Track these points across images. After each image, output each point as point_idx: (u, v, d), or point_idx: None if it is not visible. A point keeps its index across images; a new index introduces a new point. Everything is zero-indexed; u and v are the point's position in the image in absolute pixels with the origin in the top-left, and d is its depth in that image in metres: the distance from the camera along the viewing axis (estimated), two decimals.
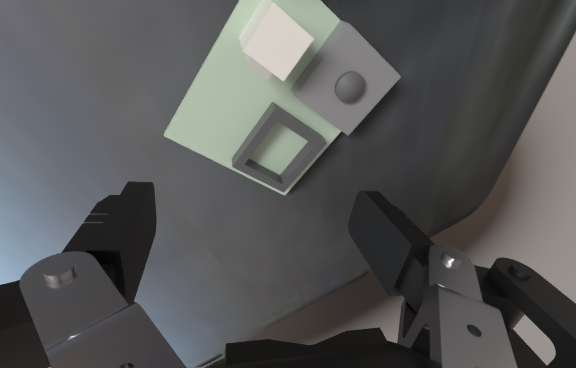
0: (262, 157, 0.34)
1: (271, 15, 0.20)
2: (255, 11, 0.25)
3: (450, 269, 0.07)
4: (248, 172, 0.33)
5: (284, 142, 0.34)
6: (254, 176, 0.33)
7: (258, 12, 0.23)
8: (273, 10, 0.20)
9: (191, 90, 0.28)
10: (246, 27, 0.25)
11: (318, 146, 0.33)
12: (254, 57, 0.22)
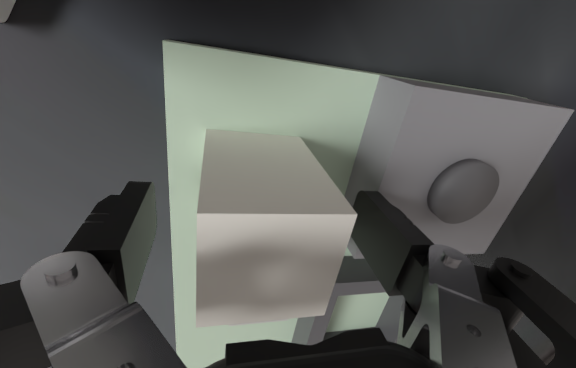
0: (336, 322, 0.20)
1: (213, 239, 0.07)
2: None
3: (450, 269, 0.07)
4: None
5: None
6: None
7: None
8: (211, 227, 0.06)
9: (178, 310, 0.16)
10: None
11: None
12: (230, 321, 0.08)
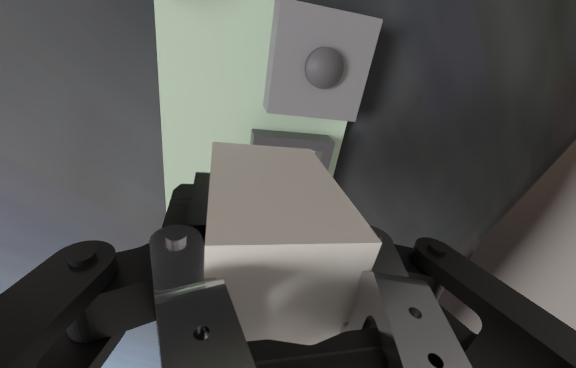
0: None
1: (222, 273, 0.06)
2: None
3: None
4: None
5: None
6: None
7: None
8: (221, 259, 0.06)
9: (165, 160, 0.25)
10: None
11: (327, 150, 0.26)
12: None
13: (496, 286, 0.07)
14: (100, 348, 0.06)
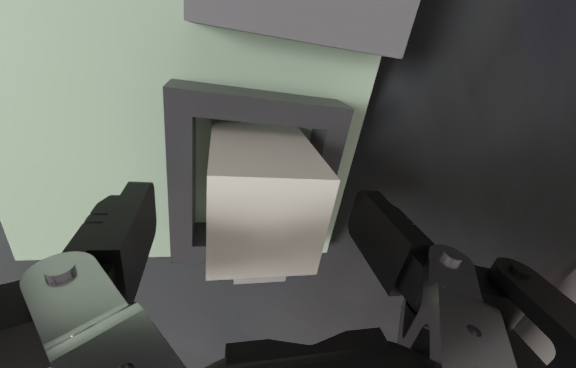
0: None
1: (220, 199, 0.08)
2: None
3: (450, 269, 0.07)
4: None
5: None
6: None
7: None
8: (218, 187, 0.08)
9: None
10: None
11: (336, 127, 0.12)
12: (234, 276, 0.10)
13: None
14: None
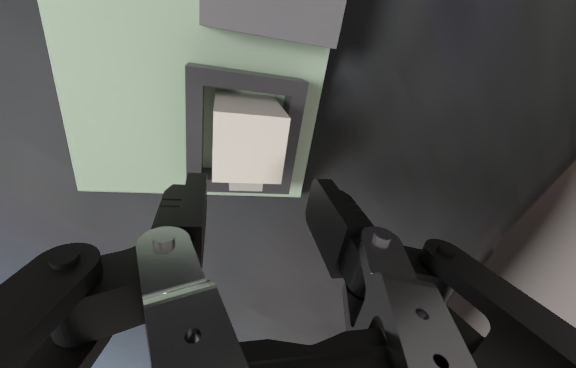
0: None
1: (220, 126, 0.14)
2: None
3: (376, 248, 0.08)
4: (215, 188, 0.20)
5: None
6: (228, 190, 0.21)
7: None
8: (219, 119, 0.14)
9: (63, 107, 0.18)
10: None
11: (298, 95, 0.18)
12: (229, 180, 0.16)
13: (506, 289, 0.07)
14: (87, 352, 0.06)
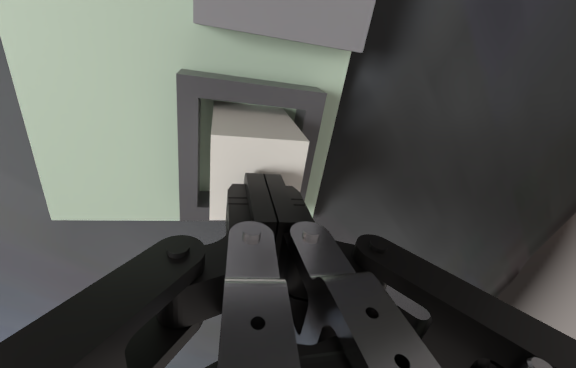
0: None
1: (220, 153, 0.11)
2: None
3: (301, 243, 0.07)
4: None
5: None
6: None
7: None
8: (219, 144, 0.11)
9: (29, 123, 0.14)
10: None
11: (313, 108, 0.15)
12: None
13: (436, 274, 0.07)
14: (178, 336, 0.07)
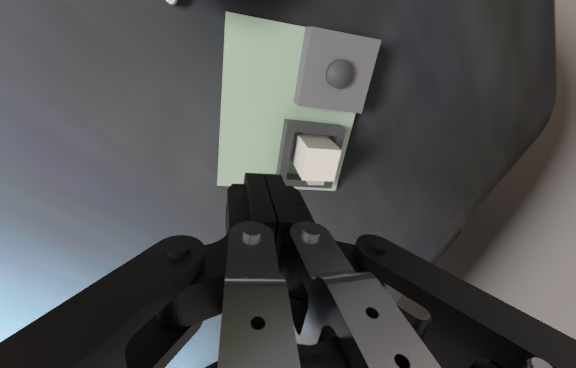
0: None
1: (310, 154, 0.31)
2: (294, 142, 0.36)
3: (301, 243, 0.07)
4: (292, 184, 0.37)
5: None
6: (299, 185, 0.37)
7: (298, 146, 0.34)
8: (310, 151, 0.31)
9: (220, 142, 0.34)
10: (293, 154, 0.36)
11: (340, 135, 0.35)
12: (310, 179, 0.32)
13: (436, 275, 0.07)
14: (178, 336, 0.07)
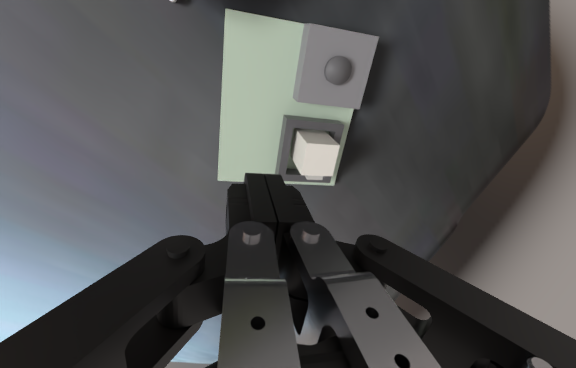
0: None
1: (309, 149, 0.31)
2: (293, 137, 0.36)
3: (301, 243, 0.07)
4: (292, 179, 0.38)
5: None
6: (298, 180, 0.38)
7: (297, 142, 0.35)
8: (309, 146, 0.31)
9: (221, 137, 0.35)
10: (292, 149, 0.37)
11: (338, 130, 0.36)
12: (309, 174, 0.33)
13: (436, 274, 0.07)
14: (178, 337, 0.07)
